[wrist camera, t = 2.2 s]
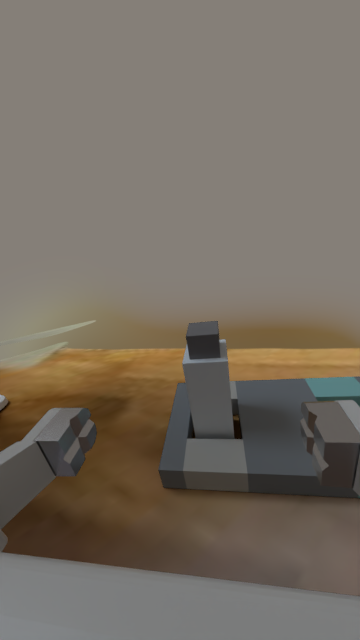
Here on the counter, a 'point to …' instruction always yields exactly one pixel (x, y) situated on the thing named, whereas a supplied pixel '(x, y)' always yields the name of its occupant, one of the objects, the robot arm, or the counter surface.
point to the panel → (254, 440)
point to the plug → (208, 382)
